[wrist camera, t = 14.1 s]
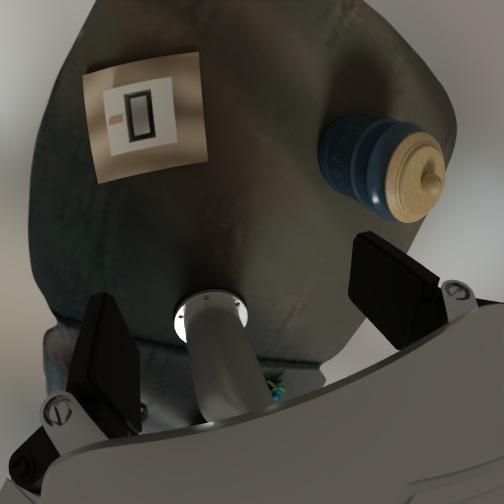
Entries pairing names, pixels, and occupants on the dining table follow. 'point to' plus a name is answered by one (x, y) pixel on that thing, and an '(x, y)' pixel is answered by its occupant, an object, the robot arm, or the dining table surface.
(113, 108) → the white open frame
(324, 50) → the dining table surface
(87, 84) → the base
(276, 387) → the blue green toy
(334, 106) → the dining table surface
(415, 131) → the canister
